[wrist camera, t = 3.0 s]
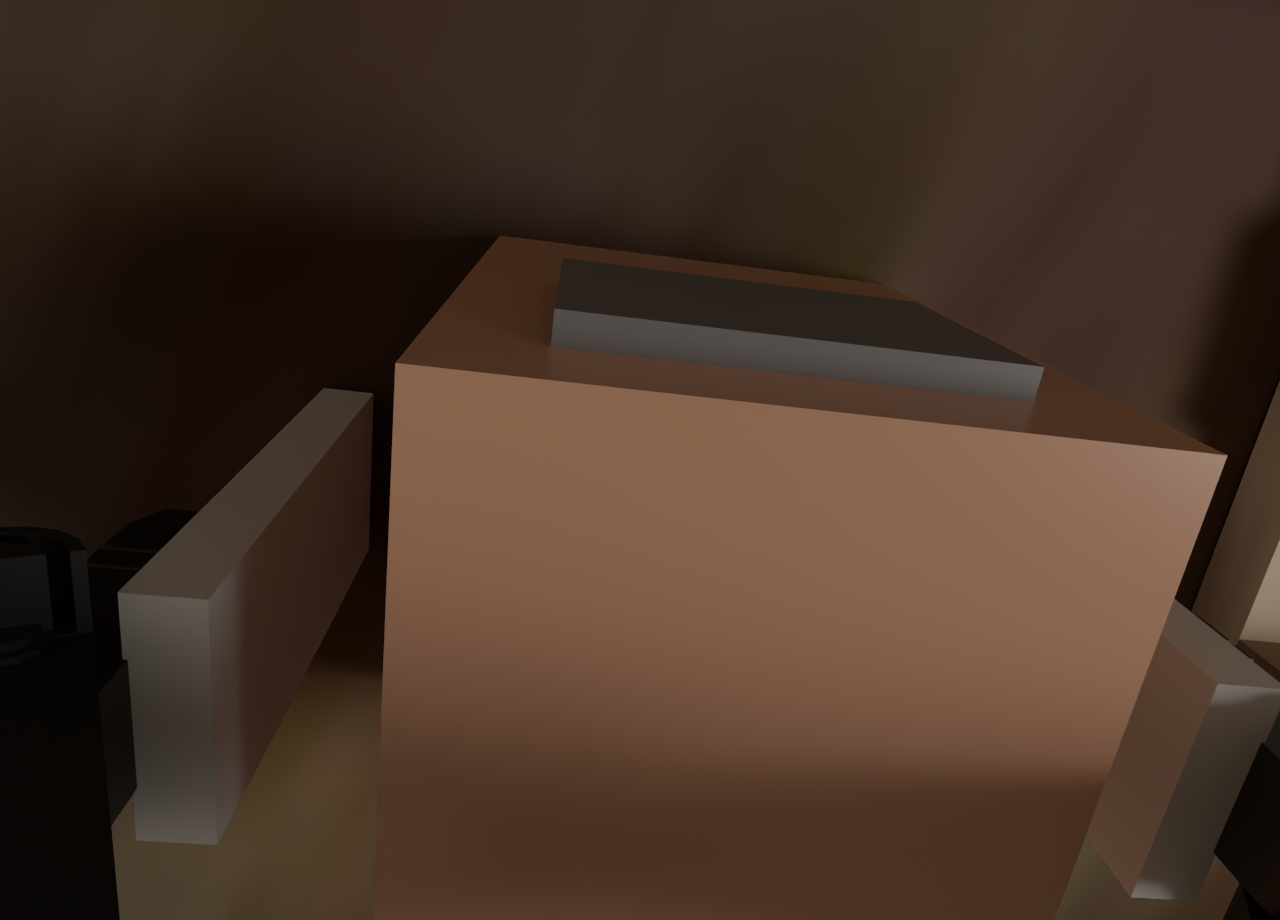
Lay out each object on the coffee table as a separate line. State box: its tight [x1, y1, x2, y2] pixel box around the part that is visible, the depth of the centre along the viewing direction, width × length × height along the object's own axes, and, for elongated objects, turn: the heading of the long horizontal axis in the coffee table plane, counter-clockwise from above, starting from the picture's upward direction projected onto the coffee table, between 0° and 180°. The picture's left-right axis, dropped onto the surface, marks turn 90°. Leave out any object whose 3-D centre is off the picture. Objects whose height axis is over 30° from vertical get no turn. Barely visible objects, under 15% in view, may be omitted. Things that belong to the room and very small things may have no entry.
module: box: [373, 236, 1228, 920], centre depth 11 cm, size 8×6×8 cm
